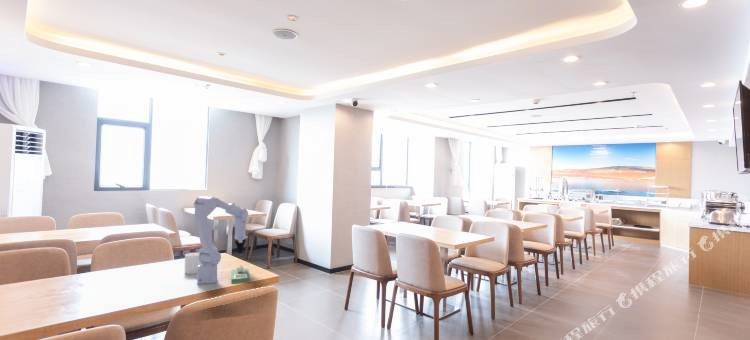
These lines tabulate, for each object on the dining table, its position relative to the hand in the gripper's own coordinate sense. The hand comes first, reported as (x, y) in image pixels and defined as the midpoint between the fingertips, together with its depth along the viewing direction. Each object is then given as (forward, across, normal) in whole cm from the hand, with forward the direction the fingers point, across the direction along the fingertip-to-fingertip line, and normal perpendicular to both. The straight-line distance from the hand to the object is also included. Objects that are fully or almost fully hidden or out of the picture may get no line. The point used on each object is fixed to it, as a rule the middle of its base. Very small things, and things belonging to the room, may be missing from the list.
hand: (239, 252), depth 212 cm
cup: (+11, +7, +25) cm, 28 cm away
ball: (+7, -10, 0) cm, 12 cm away
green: (+10, -12, 0) cm, 16 cm away
